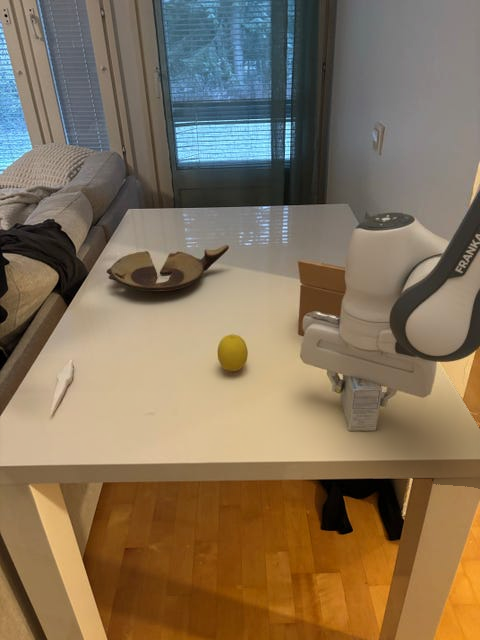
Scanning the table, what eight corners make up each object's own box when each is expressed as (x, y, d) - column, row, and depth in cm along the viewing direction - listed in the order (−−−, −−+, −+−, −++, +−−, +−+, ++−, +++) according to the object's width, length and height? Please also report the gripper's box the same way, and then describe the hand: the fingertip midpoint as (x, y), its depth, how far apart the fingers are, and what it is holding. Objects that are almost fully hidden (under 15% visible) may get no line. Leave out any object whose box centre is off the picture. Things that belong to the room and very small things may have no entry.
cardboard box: (379, 323, 101) (386, 275, 95) (363, 351, 92) (371, 300, 86) (318, 309, 107) (321, 262, 101) (297, 334, 98) (300, 285, 92)
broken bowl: (122, 266, 129) (117, 239, 125) (230, 264, 128) (229, 238, 124) (100, 305, 110) (94, 276, 106) (227, 304, 109) (226, 274, 105)
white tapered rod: (65, 365, 90) (63, 357, 89) (79, 364, 90) (77, 356, 89) (43, 420, 77) (41, 411, 76) (60, 418, 77) (57, 410, 76)
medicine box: (376, 431, 73) (383, 389, 69) (347, 431, 73) (353, 389, 69) (365, 398, 80) (372, 357, 75) (339, 398, 80) (344, 357, 76)
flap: (372, 274, 81) (371, 275, 81) (371, 296, 86) (370, 298, 85) (298, 259, 87) (297, 261, 87) (301, 281, 91) (300, 283, 91)
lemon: (254, 371, 87) (253, 335, 83) (231, 383, 84) (229, 347, 80) (234, 358, 91) (233, 323, 87) (212, 370, 88) (210, 334, 84)
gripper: (295, 317, 70) (292, 389, 77) (440, 353, 61) (421, 430, 68) (311, 299, 74) (306, 368, 81) (447, 330, 66) (428, 404, 73)
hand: (359, 397), depth 75 cm, fingers closed on medicine box, 6 cm apart
